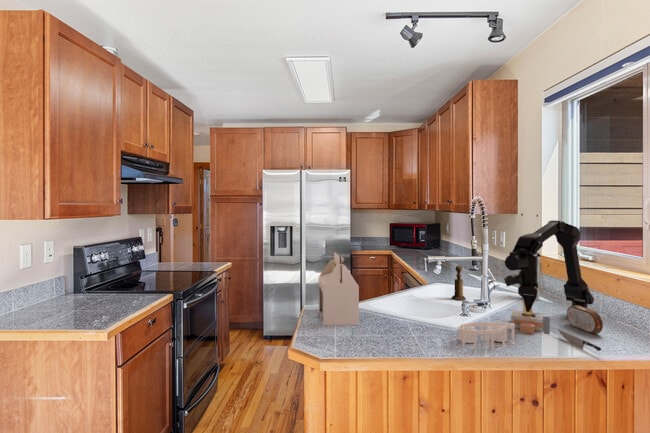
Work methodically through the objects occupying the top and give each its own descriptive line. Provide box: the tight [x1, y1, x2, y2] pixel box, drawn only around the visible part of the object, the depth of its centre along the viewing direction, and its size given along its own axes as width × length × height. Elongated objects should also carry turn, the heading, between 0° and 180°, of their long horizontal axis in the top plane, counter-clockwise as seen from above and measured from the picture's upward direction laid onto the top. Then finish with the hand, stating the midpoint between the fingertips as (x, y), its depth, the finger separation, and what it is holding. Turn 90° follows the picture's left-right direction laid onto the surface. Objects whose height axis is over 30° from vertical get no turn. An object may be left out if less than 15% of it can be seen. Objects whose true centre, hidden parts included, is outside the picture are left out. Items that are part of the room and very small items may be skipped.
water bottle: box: [534, 250, 544, 302], centre depth 190 cm, size 9×8×25 cm
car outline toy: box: [457, 321, 516, 351], centre depth 124 cm, size 20×11×7 cm, turn 97°
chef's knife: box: [557, 328, 602, 352], centre depth 124 cm, size 19×1×3 cm, turn 4°
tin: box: [566, 305, 604, 334], centre depth 142 cm, size 15×3×8 cm, turn 4°
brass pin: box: [522, 298, 533, 317], centre depth 145 cm, size 3×3×10 cm
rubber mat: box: [543, 315, 551, 335], centre depth 150 cm, size 26×14×1 cm, turn 149°
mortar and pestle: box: [451, 265, 467, 302], centre depth 186 cm, size 7×6×18 cm
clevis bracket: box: [510, 309, 544, 335], centre depth 143 cm, size 16×10×5 cm
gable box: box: [318, 251, 360, 326], centre depth 150 cm, size 22×13×28 cm, turn 6°
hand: (528, 309), depth 145 cm, fingers open, 9 cm apart
